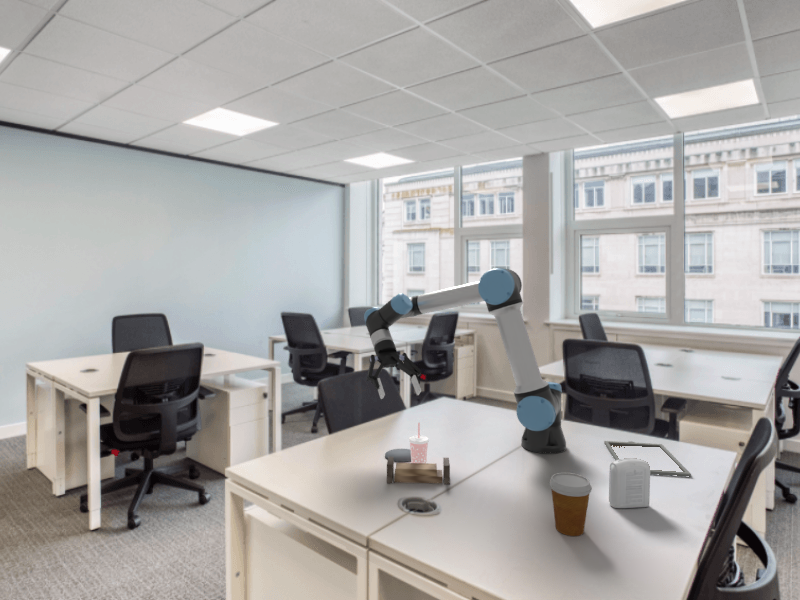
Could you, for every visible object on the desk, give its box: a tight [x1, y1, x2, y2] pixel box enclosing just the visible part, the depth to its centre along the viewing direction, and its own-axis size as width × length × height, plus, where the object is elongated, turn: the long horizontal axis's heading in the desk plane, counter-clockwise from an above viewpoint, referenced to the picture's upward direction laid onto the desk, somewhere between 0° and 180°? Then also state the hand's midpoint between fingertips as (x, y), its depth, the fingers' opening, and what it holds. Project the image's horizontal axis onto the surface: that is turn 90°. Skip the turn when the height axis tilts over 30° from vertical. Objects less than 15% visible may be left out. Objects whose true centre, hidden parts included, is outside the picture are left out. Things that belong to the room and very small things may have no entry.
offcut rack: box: [386, 457, 451, 485], centre depth 145 cm, size 18×6×6 cm, turn 87°
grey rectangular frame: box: [603, 440, 692, 478], centre depth 163 cm, size 19×2×30 cm
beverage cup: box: [408, 422, 429, 463], centre depth 155 cm, size 6×6×14 cm
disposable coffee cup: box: [548, 472, 593, 537], centre depth 116 cm, size 10×10×12 cm
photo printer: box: [608, 458, 651, 509], centre depth 128 cm, size 10×4×12 cm, turn 98°
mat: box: [384, 448, 411, 463], centre depth 165 cm, size 11×11×1 cm
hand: (401, 395), depth 166 cm, fingers open, 13 cm apart
